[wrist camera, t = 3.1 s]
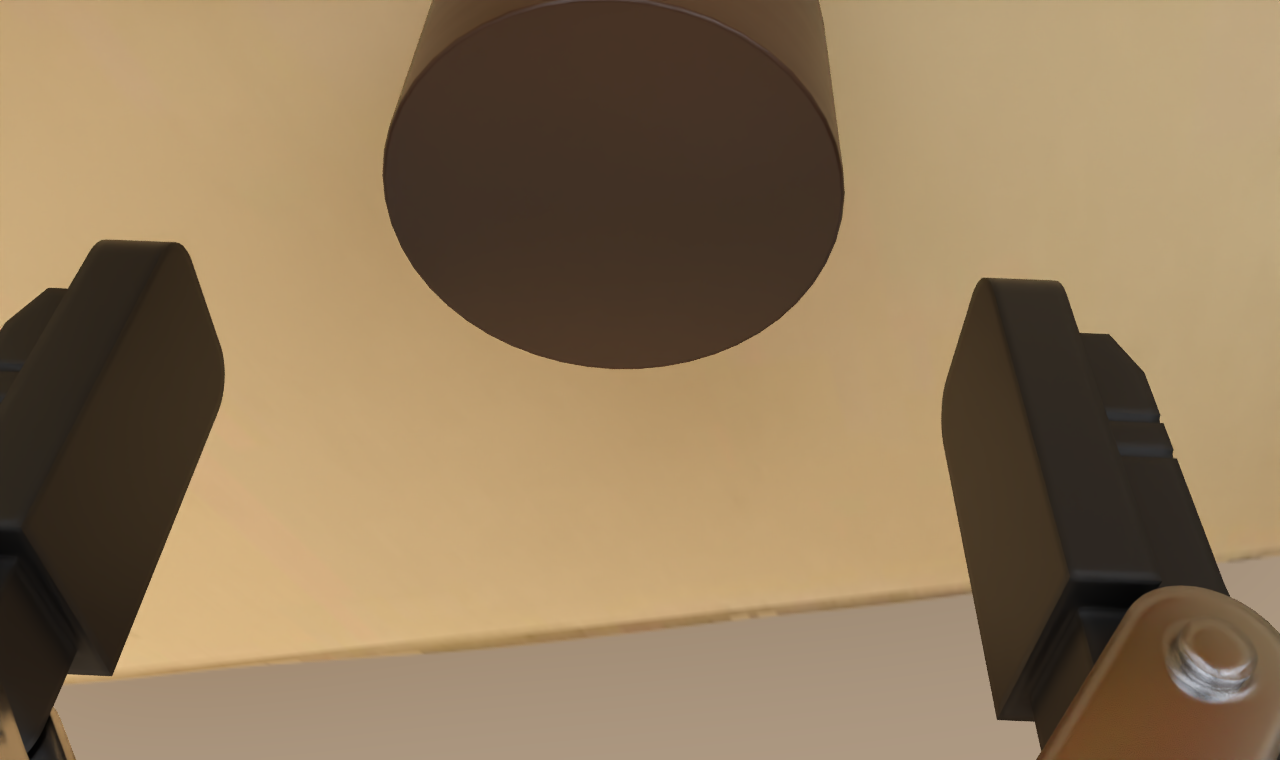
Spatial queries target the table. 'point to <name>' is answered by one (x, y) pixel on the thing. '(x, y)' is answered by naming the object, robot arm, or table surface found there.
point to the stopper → (617, 171)
